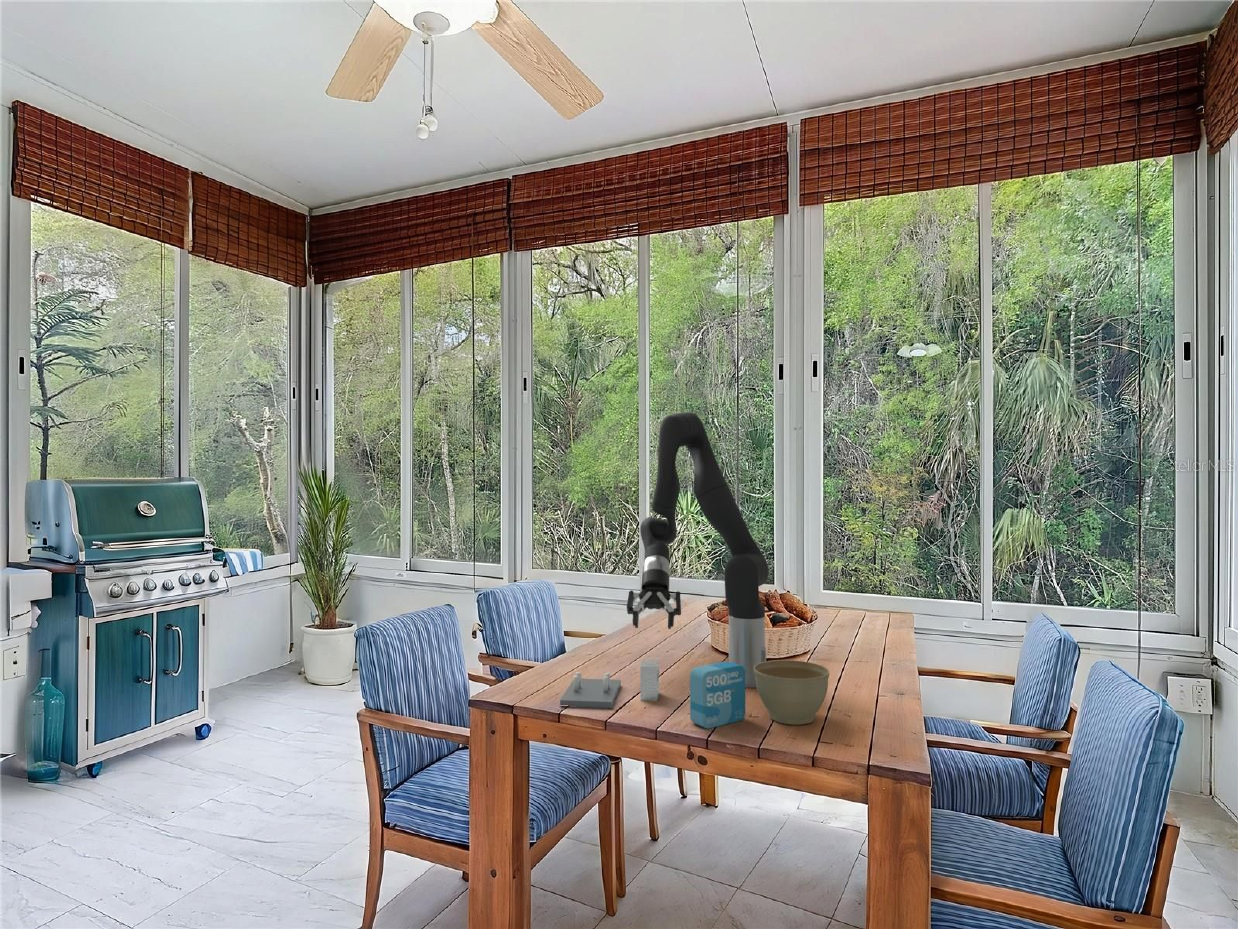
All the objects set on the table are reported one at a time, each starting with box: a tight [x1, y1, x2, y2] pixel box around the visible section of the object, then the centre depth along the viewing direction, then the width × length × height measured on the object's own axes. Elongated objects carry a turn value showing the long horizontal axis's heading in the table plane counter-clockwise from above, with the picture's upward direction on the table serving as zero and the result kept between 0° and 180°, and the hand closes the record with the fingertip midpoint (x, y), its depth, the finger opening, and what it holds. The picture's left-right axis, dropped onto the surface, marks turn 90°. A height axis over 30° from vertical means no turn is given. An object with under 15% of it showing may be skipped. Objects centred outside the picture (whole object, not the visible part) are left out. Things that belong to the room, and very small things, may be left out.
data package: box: [689, 660, 746, 730], centre depth 152 cm, size 12×4×12 cm, turn 123°
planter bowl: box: [754, 659, 830, 726], centre depth 154 cm, size 16×16×11 cm
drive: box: [639, 659, 660, 702], centre depth 170 cm, size 4×6×8 cm
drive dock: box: [559, 671, 622, 709], centre depth 171 cm, size 12×18×5 cm, turn 173°
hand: (652, 626), depth 181 cm, fingers open, 8 cm apart
